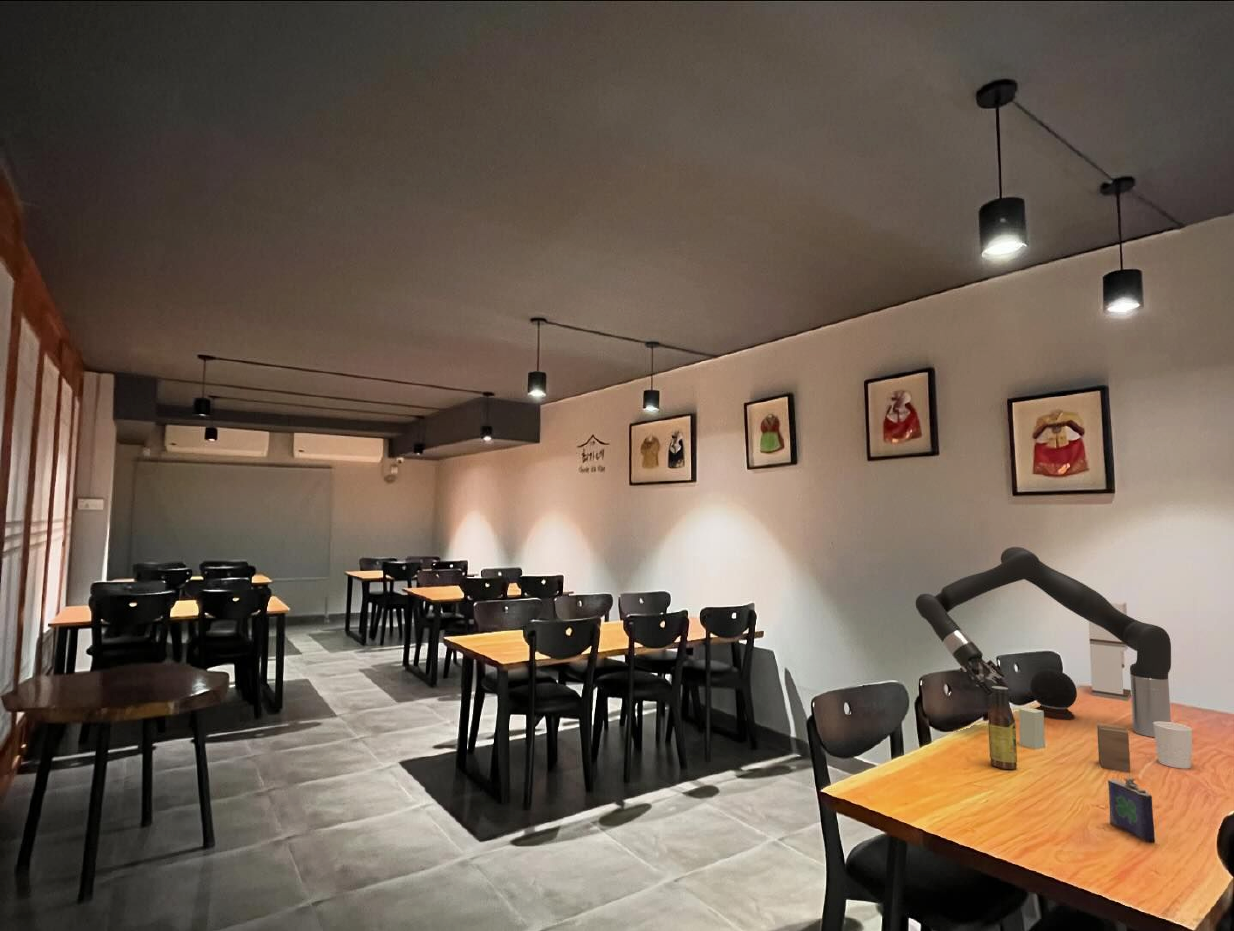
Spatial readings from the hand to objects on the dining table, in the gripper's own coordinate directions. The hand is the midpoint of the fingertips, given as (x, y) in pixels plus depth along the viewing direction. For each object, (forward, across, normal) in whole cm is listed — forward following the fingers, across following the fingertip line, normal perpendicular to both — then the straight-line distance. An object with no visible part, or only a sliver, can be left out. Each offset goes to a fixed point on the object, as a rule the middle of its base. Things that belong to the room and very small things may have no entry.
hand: (999, 693), depth 199 cm
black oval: (+5, +41, +14) cm, 43 cm away
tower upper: (+26, +2, -15) cm, 30 cm away
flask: (+44, -39, -26) cm, 65 cm away
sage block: (+15, 0, +2) cm, 16 cm away
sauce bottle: (+20, -24, -2) cm, 31 cm away
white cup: (+34, +19, -16) cm, 42 cm away
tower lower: (+29, +2, -11) cm, 31 cm away
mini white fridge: (+1, +91, +18) cm, 93 cm away
